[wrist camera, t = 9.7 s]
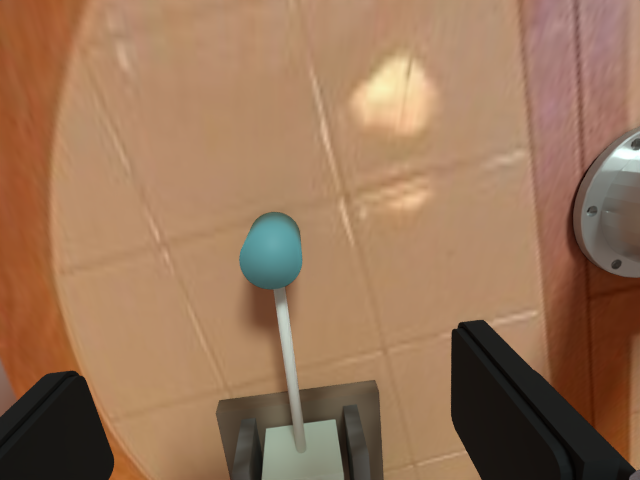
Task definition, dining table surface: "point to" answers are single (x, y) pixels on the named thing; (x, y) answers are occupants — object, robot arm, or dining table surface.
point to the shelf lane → (317, 405)
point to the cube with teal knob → (288, 357)
